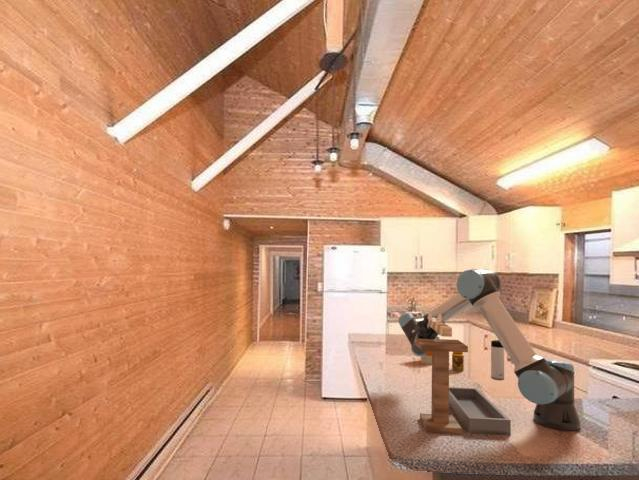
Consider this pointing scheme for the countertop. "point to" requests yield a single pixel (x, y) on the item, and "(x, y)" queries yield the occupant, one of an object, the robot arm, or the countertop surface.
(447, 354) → the shelf stand
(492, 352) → the travel mug
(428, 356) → the reusable coffee cup
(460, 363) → the condiment
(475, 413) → the tray
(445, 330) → the ash bar
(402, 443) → the countertop surface
